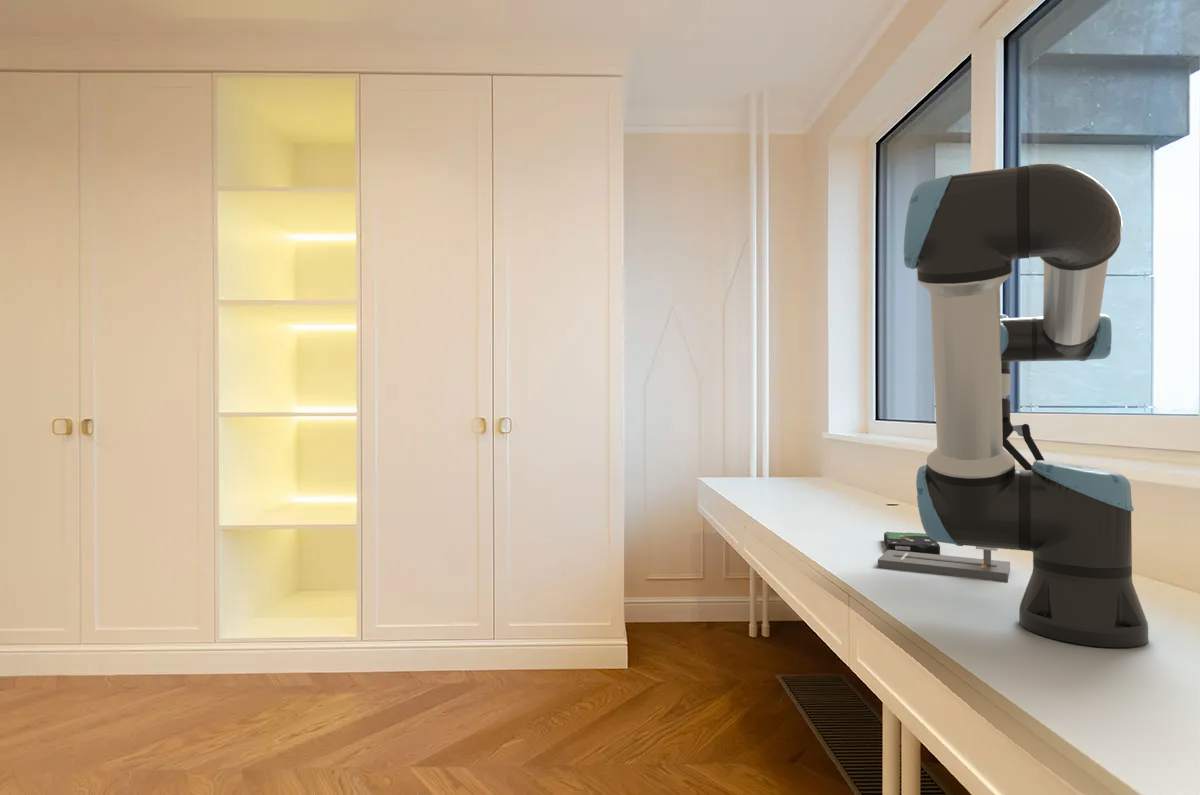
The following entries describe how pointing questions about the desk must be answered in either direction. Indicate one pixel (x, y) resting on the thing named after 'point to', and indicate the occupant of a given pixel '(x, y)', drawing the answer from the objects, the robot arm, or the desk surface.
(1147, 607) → the desk surface
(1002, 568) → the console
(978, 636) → the desk surface
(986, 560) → the fader
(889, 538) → the disk drive
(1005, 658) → the desk surface
